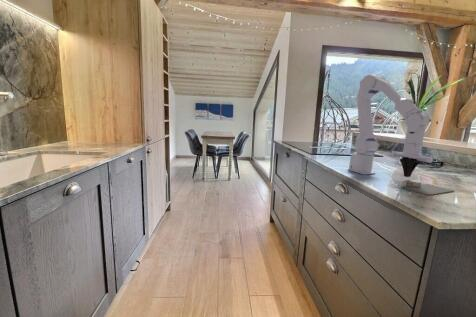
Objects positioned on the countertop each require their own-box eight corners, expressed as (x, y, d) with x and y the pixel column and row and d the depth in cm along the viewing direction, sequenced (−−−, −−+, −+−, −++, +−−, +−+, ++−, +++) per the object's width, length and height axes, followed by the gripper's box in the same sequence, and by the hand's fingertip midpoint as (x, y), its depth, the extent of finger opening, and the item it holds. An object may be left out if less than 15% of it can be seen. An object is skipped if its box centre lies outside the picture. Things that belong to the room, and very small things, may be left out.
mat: (402, 187, 92) (402, 186, 92) (427, 184, 98) (427, 183, 98) (428, 195, 84) (428, 194, 84) (453, 191, 90) (454, 190, 90)
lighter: (417, 181, 96) (425, 184, 89) (417, 185, 96) (424, 189, 89) (397, 178, 98) (402, 181, 91) (396, 182, 99) (402, 186, 91)
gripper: (440, 145, 90) (432, 180, 93) (401, 141, 103) (395, 171, 106) (429, 146, 87) (421, 182, 90) (390, 141, 100) (385, 172, 103)
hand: (407, 176), depth 98 cm, fingers closed
